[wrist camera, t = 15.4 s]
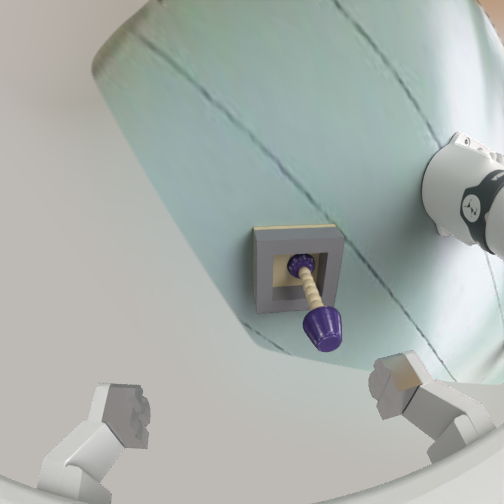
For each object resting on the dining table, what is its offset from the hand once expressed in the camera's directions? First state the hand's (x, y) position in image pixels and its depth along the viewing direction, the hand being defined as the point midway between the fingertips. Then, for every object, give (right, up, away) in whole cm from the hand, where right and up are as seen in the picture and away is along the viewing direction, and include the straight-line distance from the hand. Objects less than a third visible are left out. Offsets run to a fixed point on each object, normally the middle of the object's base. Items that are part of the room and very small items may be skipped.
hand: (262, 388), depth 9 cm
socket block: (+6, +3, +37) cm, 38 cm away
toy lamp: (+7, +3, +37) cm, 37 cm away
